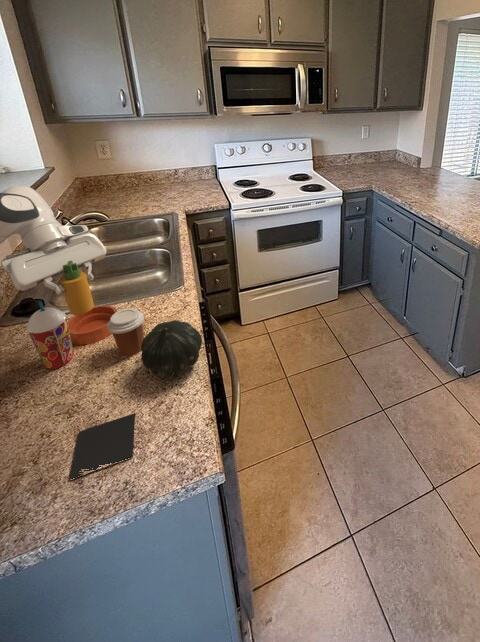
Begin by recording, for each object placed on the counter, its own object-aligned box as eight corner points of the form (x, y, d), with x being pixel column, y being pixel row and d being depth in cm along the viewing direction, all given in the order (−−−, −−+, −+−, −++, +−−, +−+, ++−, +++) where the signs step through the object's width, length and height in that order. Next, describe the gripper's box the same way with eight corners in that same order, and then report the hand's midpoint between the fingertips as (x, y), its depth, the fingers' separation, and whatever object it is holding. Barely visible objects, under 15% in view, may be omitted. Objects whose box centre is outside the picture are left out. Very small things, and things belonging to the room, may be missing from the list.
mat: (69, 481, 69) (69, 479, 69) (79, 432, 79) (79, 431, 78) (132, 457, 73) (132, 456, 73) (135, 414, 83) (134, 413, 83)
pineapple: (67, 317, 89) (53, 270, 85) (71, 305, 94) (58, 260, 89) (92, 311, 91) (80, 266, 87) (95, 300, 96) (83, 256, 91)
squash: (177, 319, 106) (145, 307, 94) (219, 333, 101) (191, 323, 89) (154, 369, 101) (116, 364, 88) (197, 386, 96) (163, 383, 83)
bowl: (64, 351, 102) (60, 339, 100) (73, 323, 113) (70, 312, 112) (118, 338, 107) (114, 326, 105) (121, 312, 118) (118, 301, 117)
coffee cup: (118, 343, 105) (109, 309, 101) (151, 336, 108) (144, 302, 103) (111, 365, 97) (102, 329, 93) (148, 357, 100) (140, 322, 95)
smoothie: (85, 356, 100) (66, 296, 93) (53, 378, 93) (30, 314, 86) (66, 347, 103) (47, 288, 96) (34, 368, 96) (11, 305, 89)
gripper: (-2, 252, 81) (29, 302, 80) (92, 223, 97) (119, 264, 96) (-4, 264, 85) (26, 312, 83) (87, 234, 101) (113, 273, 100)
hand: (76, 286), depth 90 cm, fingers closed on pineapple, 5 cm apart
